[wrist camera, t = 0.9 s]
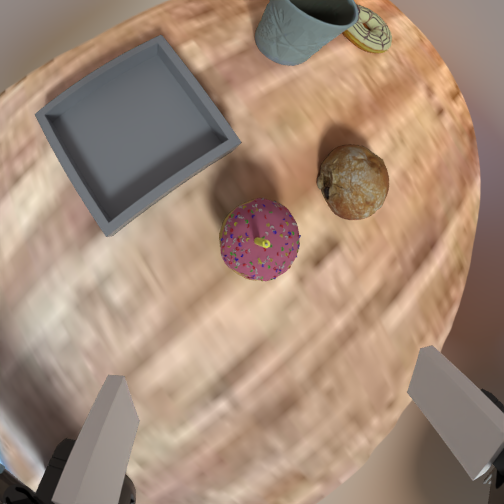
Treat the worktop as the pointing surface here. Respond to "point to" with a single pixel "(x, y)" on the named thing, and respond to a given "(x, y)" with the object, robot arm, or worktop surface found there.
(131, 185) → the serving tray
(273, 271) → the cupcake
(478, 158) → the worktop surface
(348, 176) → the bread roll
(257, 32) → the grey cup
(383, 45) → the decorated donut
